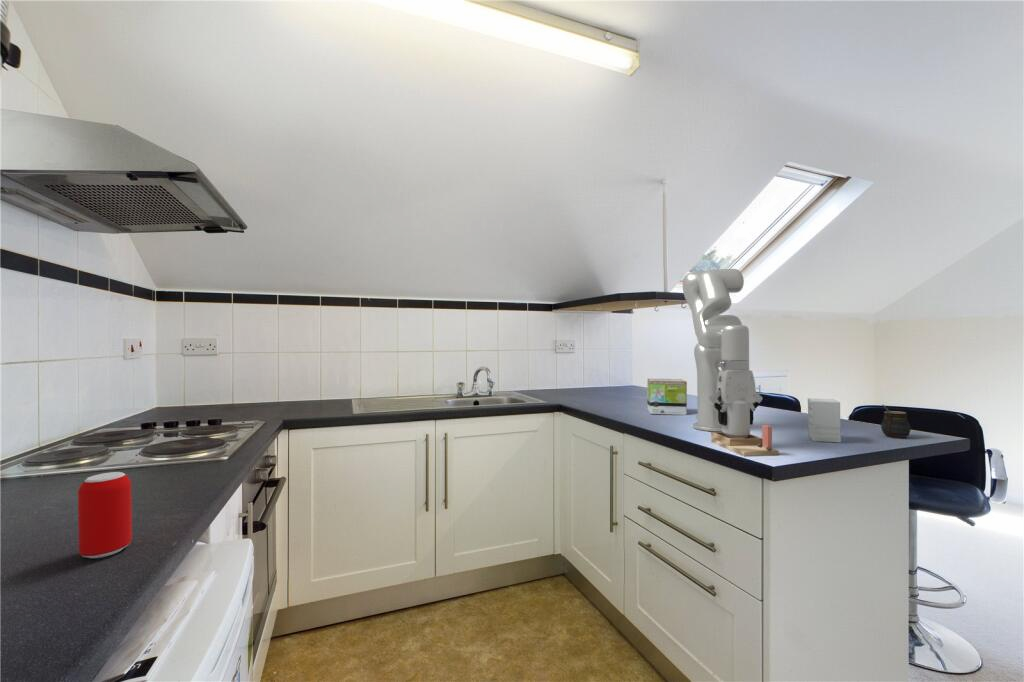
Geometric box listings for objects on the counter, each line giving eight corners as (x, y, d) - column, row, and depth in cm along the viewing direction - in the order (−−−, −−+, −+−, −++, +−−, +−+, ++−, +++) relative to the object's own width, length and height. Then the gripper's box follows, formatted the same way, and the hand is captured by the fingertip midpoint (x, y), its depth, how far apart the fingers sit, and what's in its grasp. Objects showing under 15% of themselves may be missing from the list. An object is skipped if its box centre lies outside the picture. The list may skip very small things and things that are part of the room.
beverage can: (70, 565, 65) (69, 484, 65) (89, 547, 71) (88, 473, 71) (123, 556, 68) (122, 478, 68) (137, 539, 73) (136, 468, 73)
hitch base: (711, 441, 137) (711, 432, 137) (741, 440, 138) (741, 431, 138) (743, 456, 120) (743, 445, 120) (778, 455, 121) (778, 444, 121)
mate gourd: (902, 440, 136) (901, 408, 136) (874, 435, 143) (873, 405, 143) (916, 437, 138) (915, 406, 139) (888, 433, 146) (887, 403, 146)
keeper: (762, 424, 124) (766, 424, 124) (762, 446, 124) (766, 446, 124) (767, 426, 121) (771, 426, 122) (768, 448, 121) (772, 448, 122)
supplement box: (835, 438, 140) (834, 398, 140) (841, 443, 133) (840, 401, 133) (807, 436, 143) (807, 397, 143) (812, 441, 136) (811, 400, 136)
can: (745, 433, 135) (745, 394, 135) (753, 438, 128) (753, 397, 128) (719, 432, 137) (719, 394, 137) (726, 437, 129) (725, 397, 129)
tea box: (650, 414, 187) (650, 380, 187) (647, 411, 197) (646, 378, 197) (687, 415, 185) (687, 380, 185) (682, 411, 195) (681, 378, 195)
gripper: (714, 367, 128) (714, 427, 128) (770, 366, 129) (771, 426, 129) (701, 365, 135) (701, 422, 135) (754, 364, 137) (755, 421, 137)
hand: (735, 423), depth 132 cm, fingers closed on can, 7 cm apart
